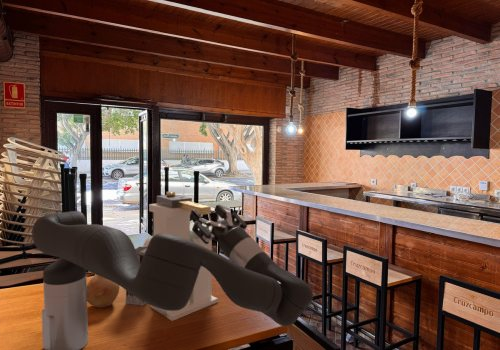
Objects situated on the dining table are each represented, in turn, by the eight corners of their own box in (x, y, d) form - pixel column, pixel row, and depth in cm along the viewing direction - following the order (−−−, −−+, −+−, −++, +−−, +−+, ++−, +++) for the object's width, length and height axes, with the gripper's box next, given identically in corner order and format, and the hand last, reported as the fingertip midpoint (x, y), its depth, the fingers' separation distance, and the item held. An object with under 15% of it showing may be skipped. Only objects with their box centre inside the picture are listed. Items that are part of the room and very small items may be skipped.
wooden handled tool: (195, 215, 87) (195, 201, 87) (156, 203, 104) (156, 192, 104) (215, 212, 91) (216, 199, 91) (175, 201, 108) (175, 190, 108)
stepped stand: (172, 320, 97) (171, 209, 94) (150, 306, 105) (149, 204, 103) (217, 302, 109) (218, 203, 107) (194, 290, 117) (194, 198, 115)
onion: (125, 305, 106) (125, 274, 105) (93, 316, 99) (92, 283, 98) (111, 296, 113) (110, 266, 112) (79, 306, 105) (79, 274, 104)
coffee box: (144, 306, 106) (143, 255, 104) (125, 304, 107) (124, 253, 106) (157, 293, 115) (157, 246, 113) (140, 292, 116) (139, 245, 115)
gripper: (215, 269, 79) (178, 225, 88) (256, 254, 90) (219, 216, 98) (226, 245, 76) (186, 202, 85) (267, 232, 87) (228, 195, 95)
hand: (204, 209), depth 91 cm, fingers open, 8 cm apart
